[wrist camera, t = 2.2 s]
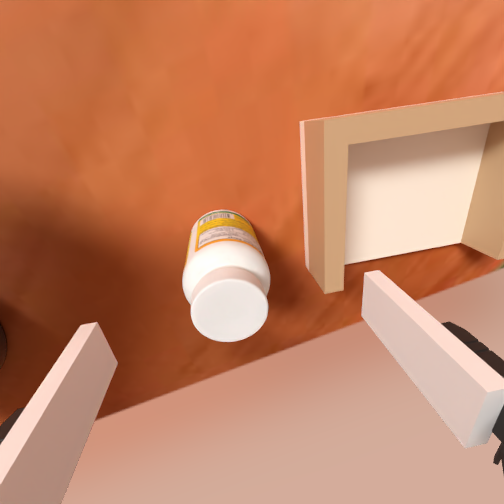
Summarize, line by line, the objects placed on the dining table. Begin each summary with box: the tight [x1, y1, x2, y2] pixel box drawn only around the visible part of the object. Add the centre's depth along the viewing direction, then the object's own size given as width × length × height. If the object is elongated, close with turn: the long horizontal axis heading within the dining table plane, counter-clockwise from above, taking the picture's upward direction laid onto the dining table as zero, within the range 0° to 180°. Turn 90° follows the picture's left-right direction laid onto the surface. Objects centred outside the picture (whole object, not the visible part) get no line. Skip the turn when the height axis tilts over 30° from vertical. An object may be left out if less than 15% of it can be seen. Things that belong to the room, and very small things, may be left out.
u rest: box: [300, 92, 504, 294], centre depth 20 cm, size 16×12×4 cm
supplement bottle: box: [182, 210, 270, 342], centre depth 18 cm, size 5×5×10 cm
